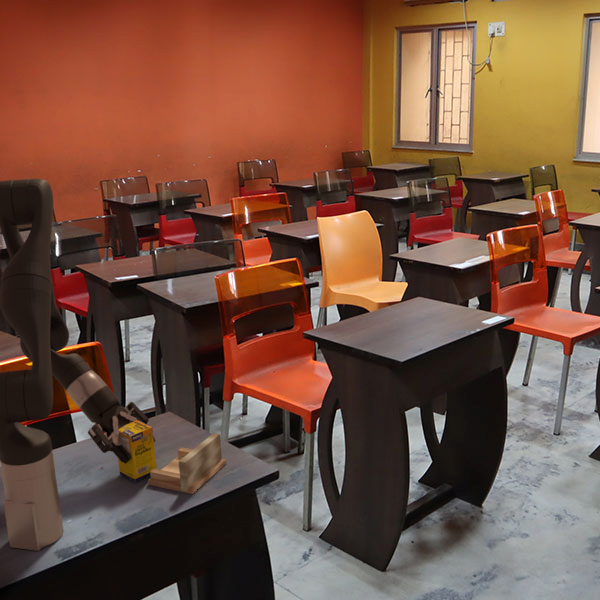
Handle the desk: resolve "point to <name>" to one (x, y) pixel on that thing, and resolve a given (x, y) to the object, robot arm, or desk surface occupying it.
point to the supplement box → (137, 450)
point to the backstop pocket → (190, 467)
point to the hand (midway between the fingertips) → (141, 452)
